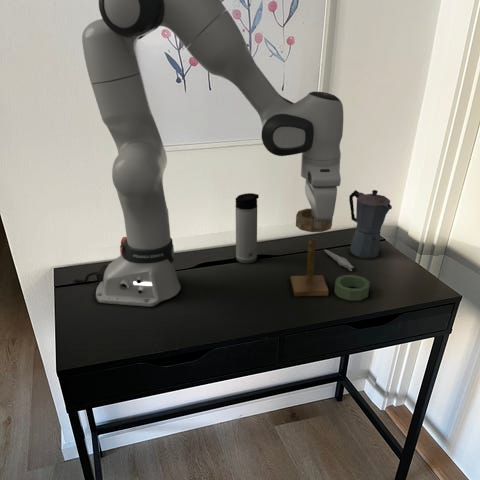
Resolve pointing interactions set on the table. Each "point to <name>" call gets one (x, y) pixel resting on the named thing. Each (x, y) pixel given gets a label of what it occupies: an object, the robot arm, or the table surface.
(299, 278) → the peg stand
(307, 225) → the birch ring
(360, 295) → the sage ring
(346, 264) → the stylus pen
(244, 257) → the travel mug
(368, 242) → the moka pot
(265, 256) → the table surface
